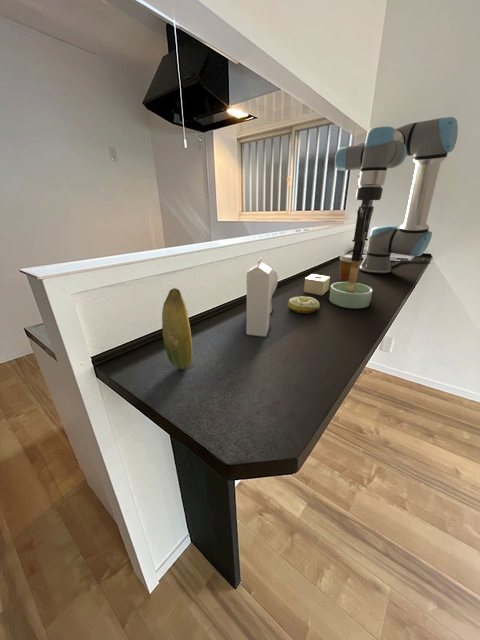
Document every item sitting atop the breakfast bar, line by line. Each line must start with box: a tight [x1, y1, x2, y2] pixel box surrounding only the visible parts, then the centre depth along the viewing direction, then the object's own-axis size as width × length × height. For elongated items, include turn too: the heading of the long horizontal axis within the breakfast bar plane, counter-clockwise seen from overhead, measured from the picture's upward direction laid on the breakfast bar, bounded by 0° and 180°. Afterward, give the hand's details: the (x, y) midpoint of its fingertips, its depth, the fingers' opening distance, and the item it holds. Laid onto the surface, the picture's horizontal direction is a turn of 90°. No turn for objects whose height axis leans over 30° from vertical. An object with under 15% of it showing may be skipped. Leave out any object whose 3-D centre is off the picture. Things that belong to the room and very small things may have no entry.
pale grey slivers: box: [245, 266, 279, 314], centre depth 91 cm, size 11×11×15 cm
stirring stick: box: [346, 232, 366, 293], centre depth 95 cm, size 2×2×24 cm
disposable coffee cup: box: [339, 253, 353, 282], centre depth 125 cm, size 10×10×12 cm
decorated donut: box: [288, 295, 320, 314], centre depth 95 cm, size 10×11×4 cm
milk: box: [245, 256, 273, 338], centre depth 75 cm, size 6×6×22 cm
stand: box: [303, 273, 331, 296], centre depth 112 cm, size 8×8×6 cm
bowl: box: [328, 281, 374, 309], centre depth 100 cm, size 15×15×6 cm
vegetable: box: [161, 287, 193, 370], centre depth 58 cm, size 6×6×20 cm
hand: (356, 259), depth 94 cm, fingers closed on stirring stick, 2 cm apart
